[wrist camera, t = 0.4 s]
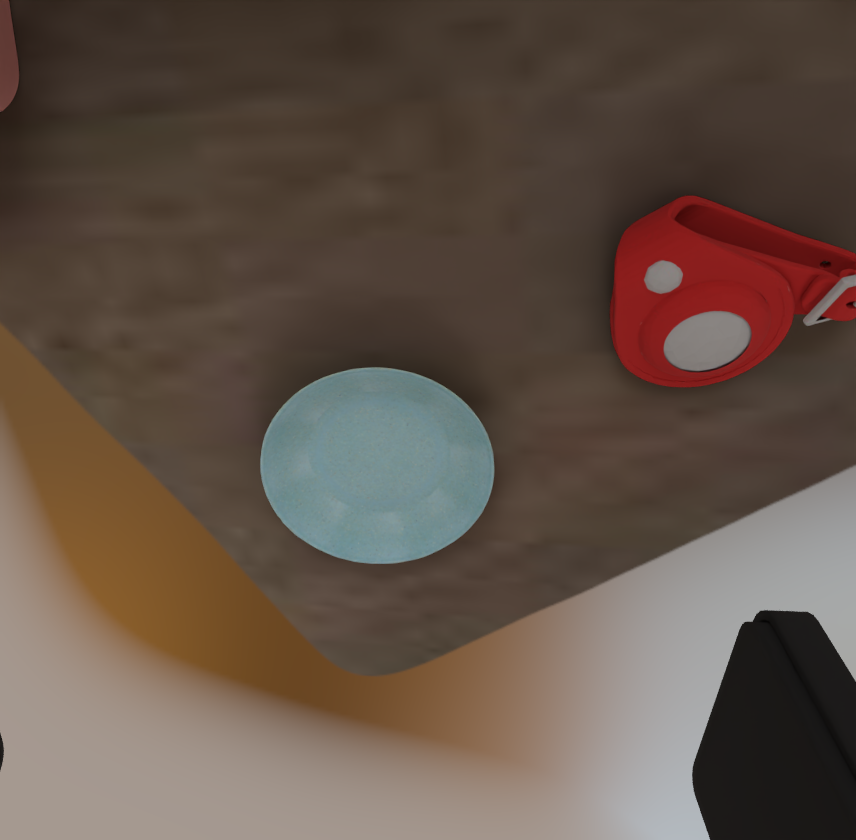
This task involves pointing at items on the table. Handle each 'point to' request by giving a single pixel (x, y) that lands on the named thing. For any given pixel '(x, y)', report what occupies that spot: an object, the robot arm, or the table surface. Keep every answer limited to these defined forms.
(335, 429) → the saucer
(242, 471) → the table surface
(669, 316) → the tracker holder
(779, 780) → the robot arm
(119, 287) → the table surface
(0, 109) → the pink notched rounded block
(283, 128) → the table surface
